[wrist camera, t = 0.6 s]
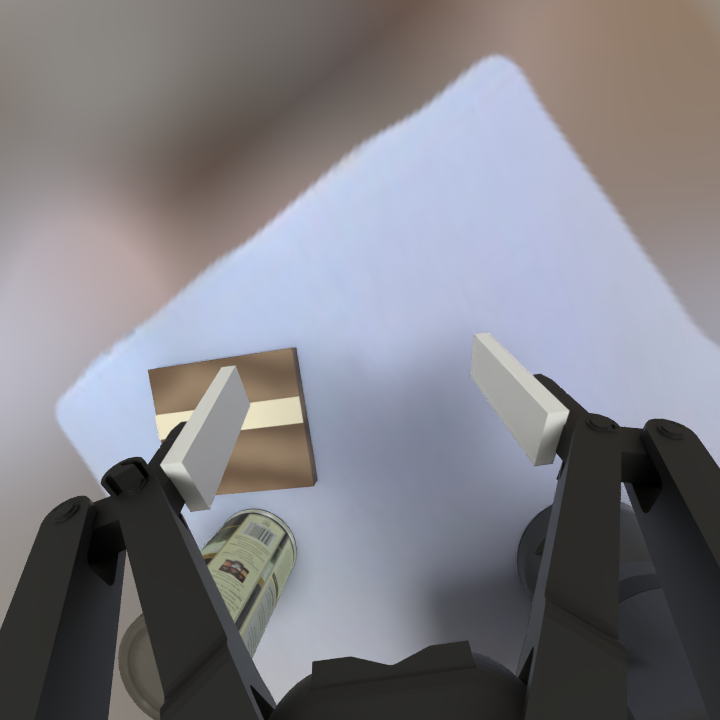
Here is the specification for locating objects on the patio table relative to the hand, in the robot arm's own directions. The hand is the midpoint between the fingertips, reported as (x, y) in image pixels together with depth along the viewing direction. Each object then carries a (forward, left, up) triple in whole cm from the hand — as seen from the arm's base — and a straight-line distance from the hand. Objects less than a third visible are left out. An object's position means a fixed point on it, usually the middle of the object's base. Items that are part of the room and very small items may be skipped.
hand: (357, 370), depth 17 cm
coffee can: (-22, +18, -18) cm, 34 cm away
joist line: (-5, +18, -16) cm, 25 cm away
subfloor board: (-6, +18, -17) cm, 26 cm away
